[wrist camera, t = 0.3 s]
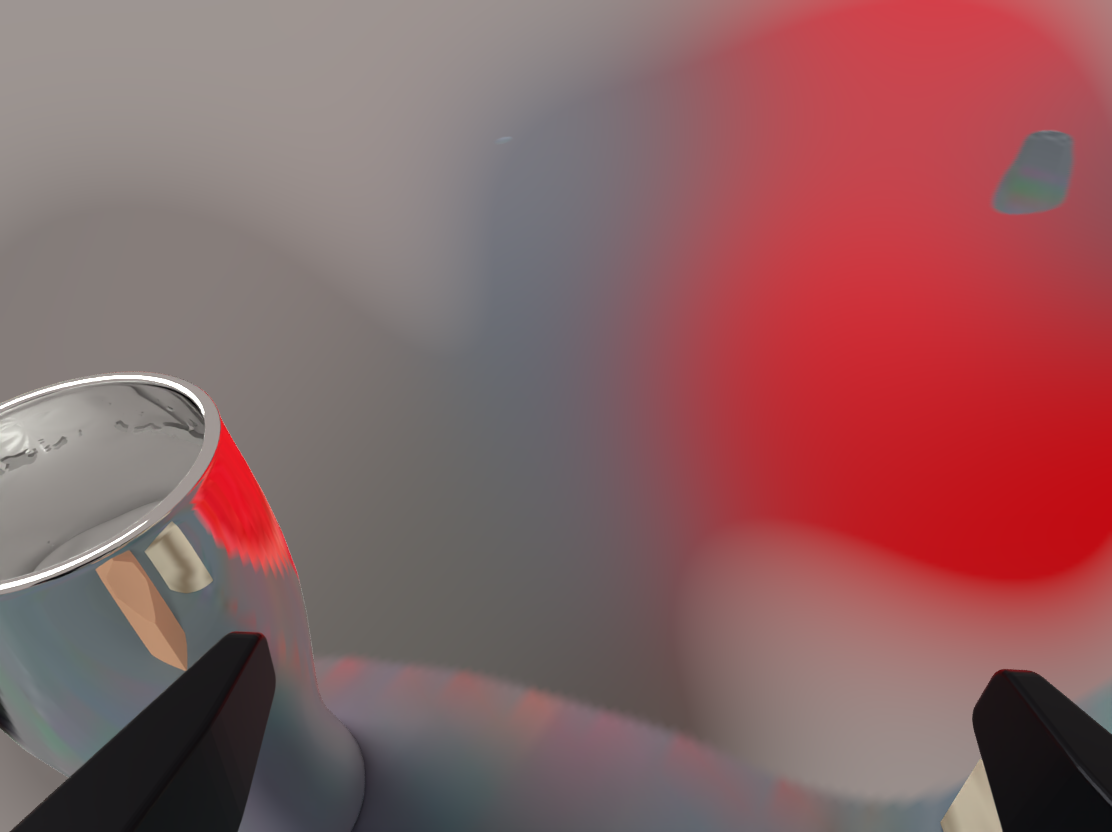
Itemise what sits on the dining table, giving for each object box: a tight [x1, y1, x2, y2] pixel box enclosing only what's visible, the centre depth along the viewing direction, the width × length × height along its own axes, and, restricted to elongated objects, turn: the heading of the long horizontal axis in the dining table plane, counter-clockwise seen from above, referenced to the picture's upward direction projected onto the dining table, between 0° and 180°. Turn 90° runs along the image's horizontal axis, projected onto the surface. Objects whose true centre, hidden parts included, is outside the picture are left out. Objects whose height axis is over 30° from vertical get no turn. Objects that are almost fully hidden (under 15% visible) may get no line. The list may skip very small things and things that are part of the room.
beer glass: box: [0, 372, 365, 832], centre depth 20 cm, size 7×7×15 cm
